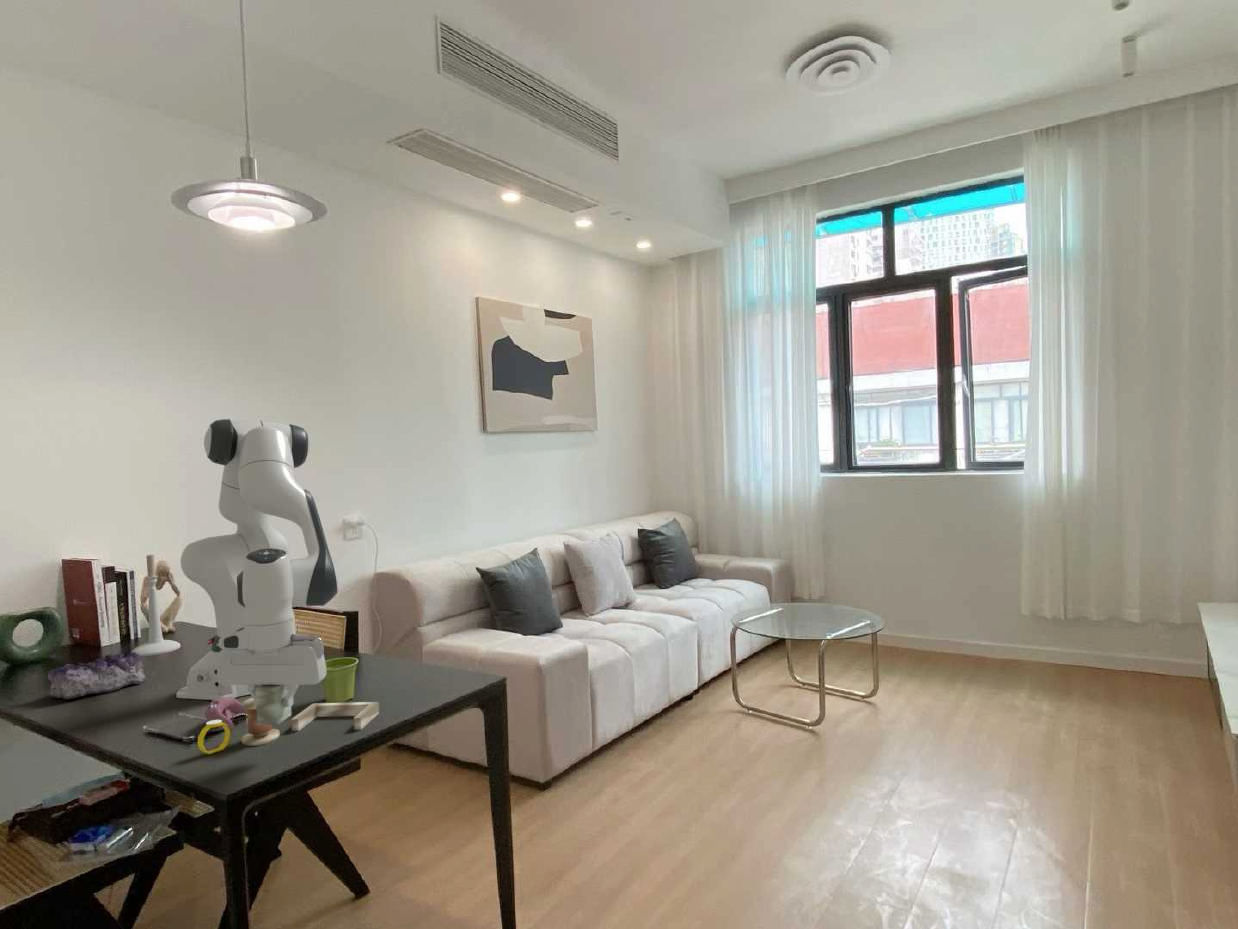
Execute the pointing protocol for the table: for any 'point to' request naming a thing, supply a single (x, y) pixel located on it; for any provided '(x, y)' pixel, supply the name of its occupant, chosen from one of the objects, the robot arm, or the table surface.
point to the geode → (96, 676)
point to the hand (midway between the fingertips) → (274, 706)
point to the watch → (203, 732)
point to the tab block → (271, 704)
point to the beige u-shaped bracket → (337, 713)
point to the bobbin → (257, 728)
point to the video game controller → (224, 710)
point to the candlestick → (154, 620)
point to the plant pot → (339, 679)
